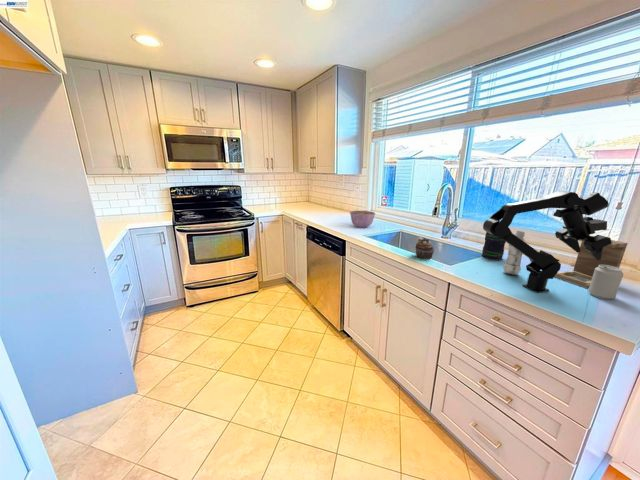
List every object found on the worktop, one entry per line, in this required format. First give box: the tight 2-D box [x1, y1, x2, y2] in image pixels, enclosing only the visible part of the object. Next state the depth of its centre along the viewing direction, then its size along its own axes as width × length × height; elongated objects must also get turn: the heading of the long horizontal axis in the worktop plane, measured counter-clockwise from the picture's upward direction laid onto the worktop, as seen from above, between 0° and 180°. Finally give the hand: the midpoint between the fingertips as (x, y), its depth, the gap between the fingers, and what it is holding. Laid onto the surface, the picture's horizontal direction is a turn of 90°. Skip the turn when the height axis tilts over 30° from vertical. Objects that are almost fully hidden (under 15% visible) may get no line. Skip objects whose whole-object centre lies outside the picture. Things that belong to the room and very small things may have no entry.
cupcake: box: [415, 237, 435, 260], centre depth 144 cm, size 10×10×10 cm
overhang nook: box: [554, 235, 628, 289], centre depth 116 cm, size 17×14×18 cm
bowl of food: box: [349, 210, 376, 229], centre depth 214 cm, size 20×20×12 cm
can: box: [587, 265, 624, 300], centre depth 102 cm, size 8×8×12 cm
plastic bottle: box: [502, 230, 527, 276], centre depth 121 cm, size 6×7×20 cm
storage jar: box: [481, 231, 507, 261], centre depth 145 cm, size 10×10×15 cm
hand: (588, 255), depth 103 cm, fingers open, 9 cm apart
